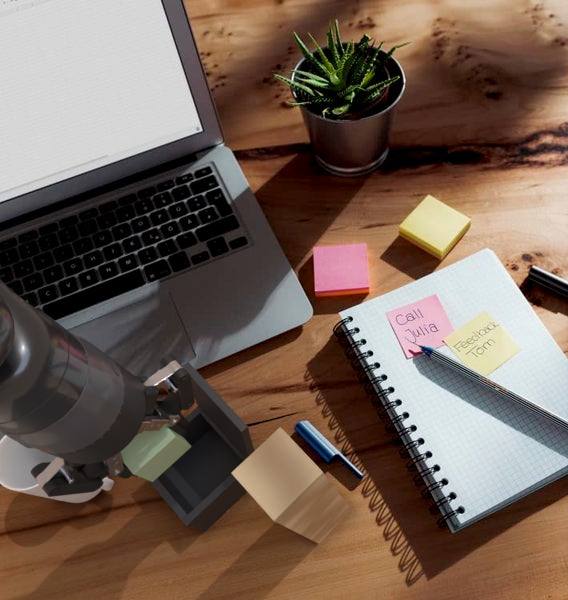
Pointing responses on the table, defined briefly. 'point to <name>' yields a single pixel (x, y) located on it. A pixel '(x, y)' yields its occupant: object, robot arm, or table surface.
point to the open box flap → (220, 413)
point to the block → (154, 452)
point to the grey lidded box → (202, 475)
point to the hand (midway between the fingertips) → (156, 446)
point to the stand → (291, 488)
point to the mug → (17, 471)
